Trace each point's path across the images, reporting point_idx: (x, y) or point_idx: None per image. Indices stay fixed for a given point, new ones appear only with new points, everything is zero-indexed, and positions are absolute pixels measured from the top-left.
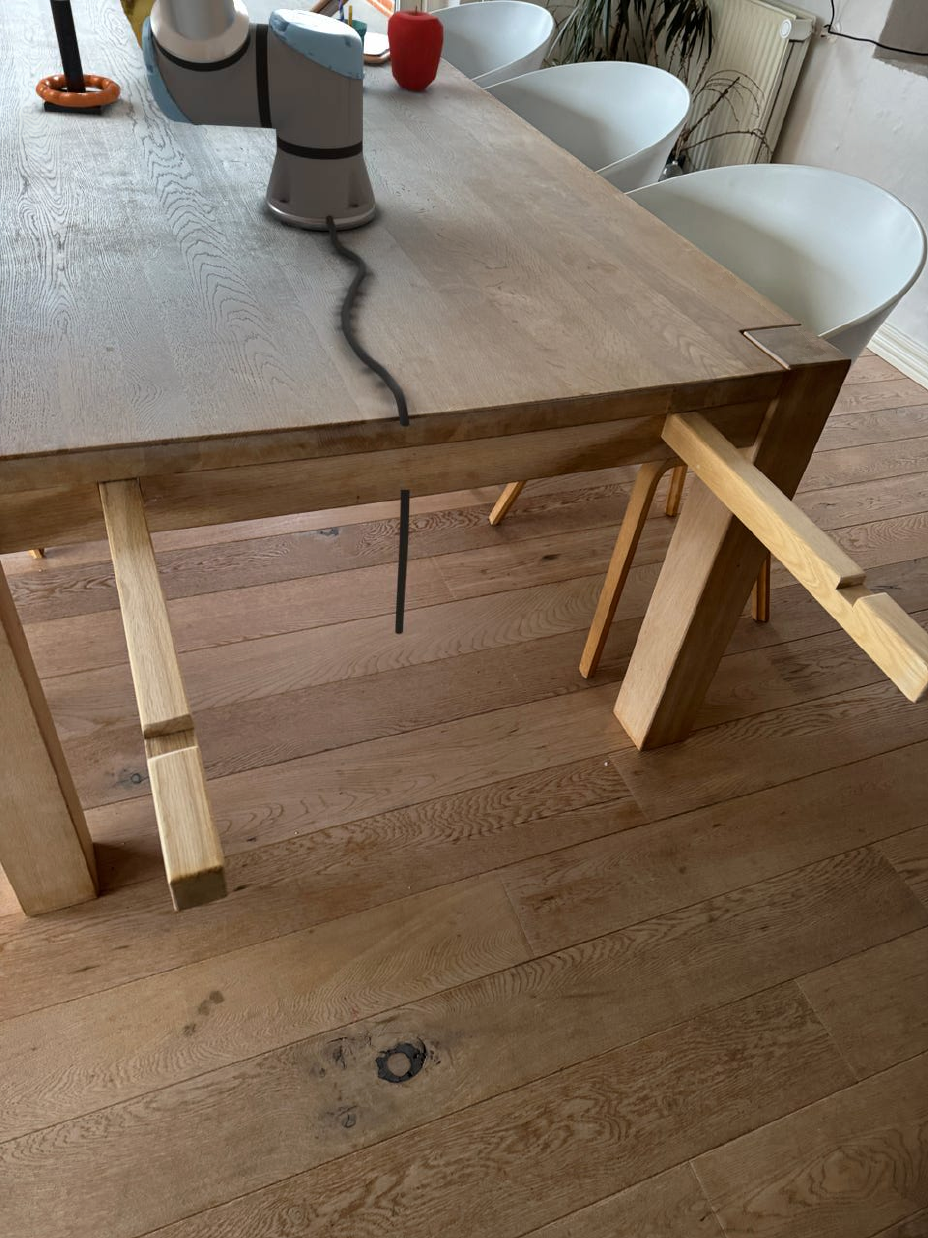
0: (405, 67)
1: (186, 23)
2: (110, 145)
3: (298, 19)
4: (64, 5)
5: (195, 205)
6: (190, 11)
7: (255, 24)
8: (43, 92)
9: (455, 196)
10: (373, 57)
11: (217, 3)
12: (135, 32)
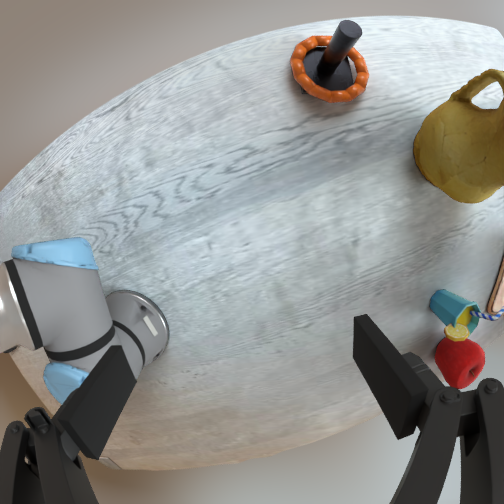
0: (442, 353)
1: None
2: (217, 126)
3: (63, 387)
4: (341, 35)
5: (108, 238)
6: None
7: (53, 350)
8: (298, 44)
9: (197, 401)
10: (490, 307)
11: None
12: (440, 105)
